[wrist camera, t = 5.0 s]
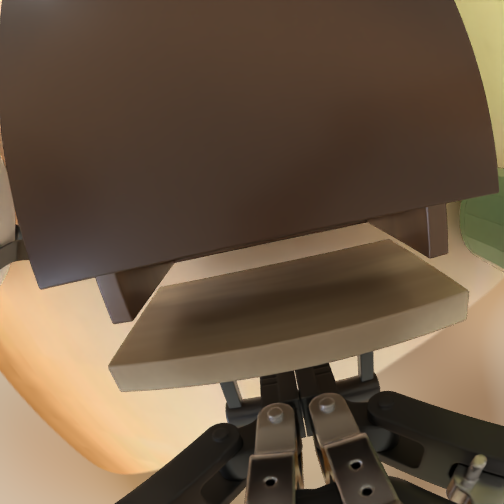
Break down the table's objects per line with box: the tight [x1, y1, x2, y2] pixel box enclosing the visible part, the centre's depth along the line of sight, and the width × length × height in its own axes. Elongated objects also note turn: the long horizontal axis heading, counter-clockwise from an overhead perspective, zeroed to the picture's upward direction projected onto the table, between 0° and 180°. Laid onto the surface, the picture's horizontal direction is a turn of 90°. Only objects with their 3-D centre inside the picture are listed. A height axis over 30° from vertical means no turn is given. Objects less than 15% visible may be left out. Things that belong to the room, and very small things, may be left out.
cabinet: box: [0, 0, 499, 289], centre depth 10 cm, size 17×14×9 cm
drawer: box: [95, 203, 469, 428], centre depth 12 cm, size 20×13×7 cm, turn 12°
